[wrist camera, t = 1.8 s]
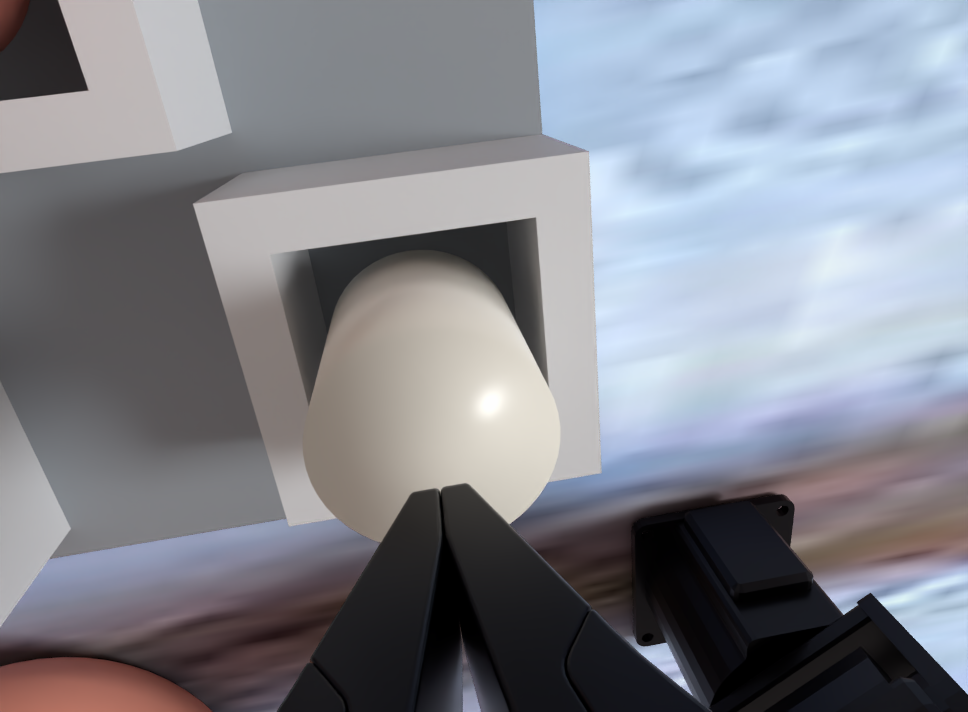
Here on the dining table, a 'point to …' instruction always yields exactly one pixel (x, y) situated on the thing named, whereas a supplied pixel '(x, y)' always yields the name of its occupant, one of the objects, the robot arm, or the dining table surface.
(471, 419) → the plug
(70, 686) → the teapot
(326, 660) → the robot arm
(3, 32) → the red plug
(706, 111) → the dining table surface
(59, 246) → the panel
